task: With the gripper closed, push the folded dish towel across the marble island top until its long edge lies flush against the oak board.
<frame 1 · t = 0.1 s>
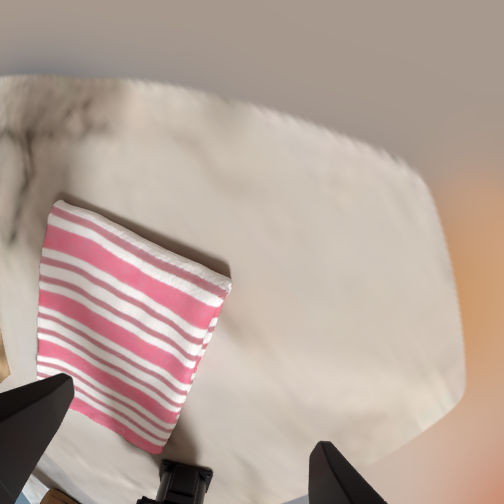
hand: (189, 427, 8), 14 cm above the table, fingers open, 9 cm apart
dish towel: (114, 342, 25), on the table
block: (69, 499, 36), on the table
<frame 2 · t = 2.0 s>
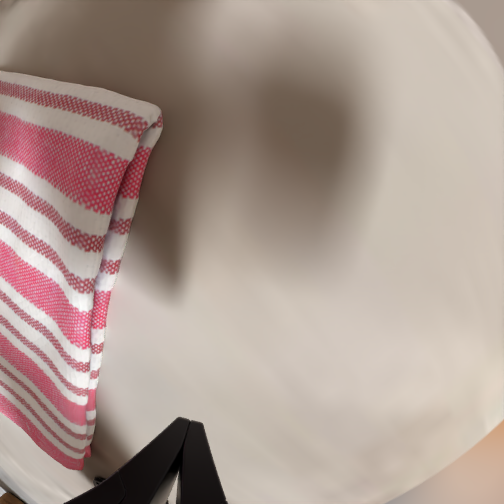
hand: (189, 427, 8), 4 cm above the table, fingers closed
dish towel: (3, 276, 13), on the table
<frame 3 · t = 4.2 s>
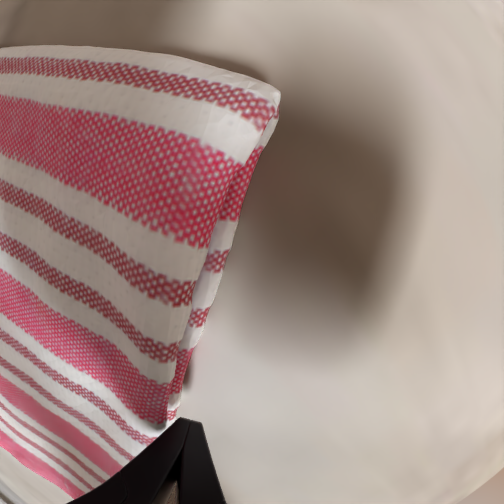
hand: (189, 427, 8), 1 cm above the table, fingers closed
dish towel: (18, 320, 10), on the table, touching gripper
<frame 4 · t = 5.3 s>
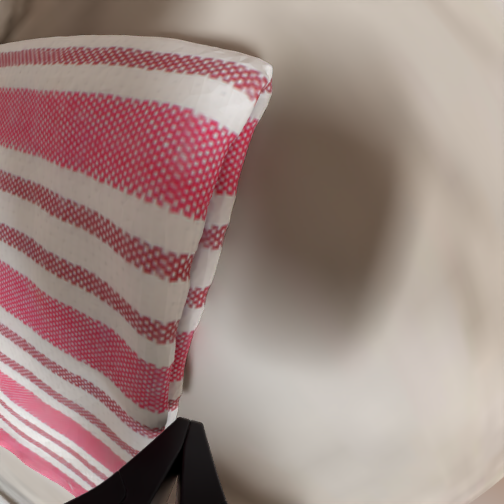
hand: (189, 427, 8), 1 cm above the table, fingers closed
dish towel: (18, 314, 10), on the table, touching gripper
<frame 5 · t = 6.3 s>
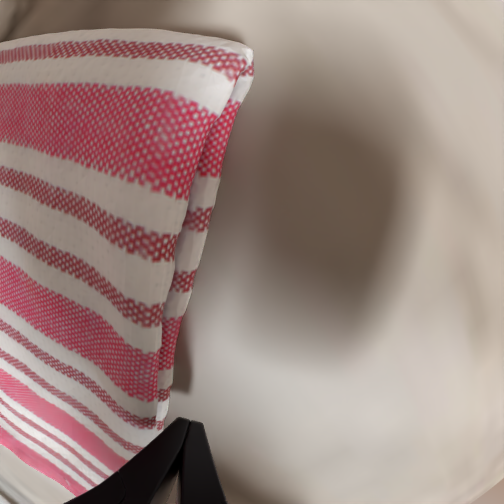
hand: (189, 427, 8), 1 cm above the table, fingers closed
dish towel: (13, 307, 10), on the table
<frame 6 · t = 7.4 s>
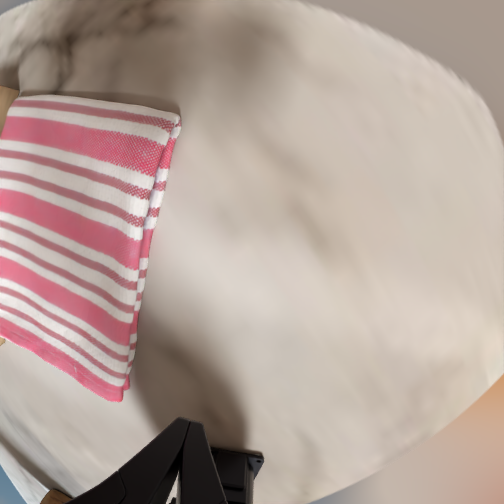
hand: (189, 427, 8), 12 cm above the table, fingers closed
dish towel: (62, 242, 20), on the table
block: (72, 501, 31), on the table
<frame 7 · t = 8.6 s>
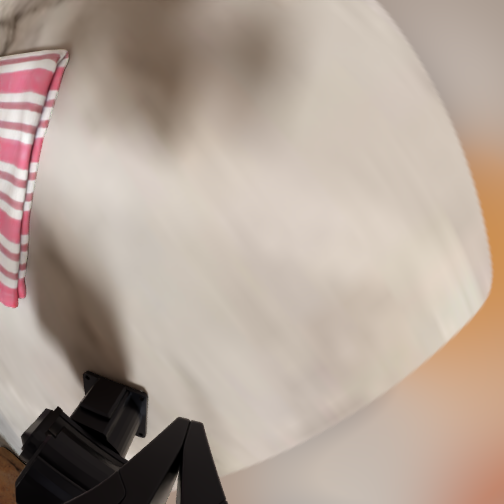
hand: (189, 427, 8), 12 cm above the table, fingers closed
block: (20, 462, 30), on the table
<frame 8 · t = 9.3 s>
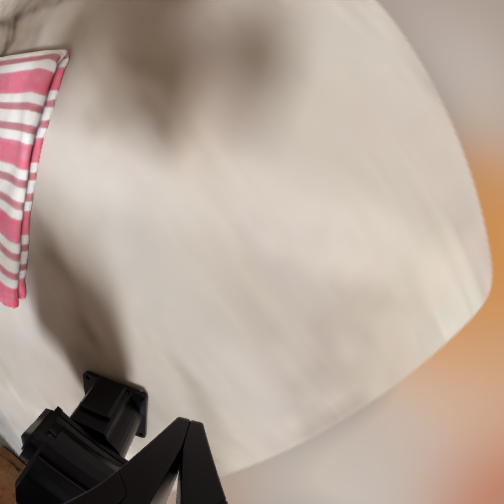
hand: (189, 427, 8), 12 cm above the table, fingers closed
block: (20, 462, 30), on the table
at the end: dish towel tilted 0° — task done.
